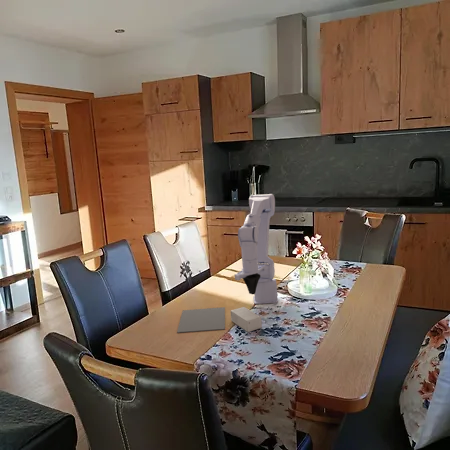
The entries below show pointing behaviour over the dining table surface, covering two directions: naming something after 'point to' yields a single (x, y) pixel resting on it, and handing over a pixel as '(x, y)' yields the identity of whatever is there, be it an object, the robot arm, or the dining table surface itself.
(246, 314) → the skincare box
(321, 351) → the dining table surface
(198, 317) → the mat
